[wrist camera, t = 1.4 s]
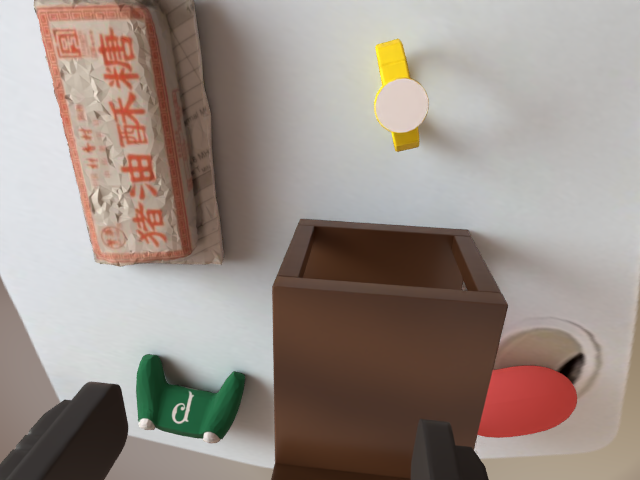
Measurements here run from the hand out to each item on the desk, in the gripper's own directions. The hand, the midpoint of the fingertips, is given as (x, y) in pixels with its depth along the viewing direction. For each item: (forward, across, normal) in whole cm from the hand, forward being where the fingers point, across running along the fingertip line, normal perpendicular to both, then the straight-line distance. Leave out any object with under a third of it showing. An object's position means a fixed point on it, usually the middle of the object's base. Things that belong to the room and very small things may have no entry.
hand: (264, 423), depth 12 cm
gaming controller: (+21, +11, +19) cm, 31 cm away
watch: (+21, -4, -6) cm, 23 cm away
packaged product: (+21, +13, -2) cm, 25 cm away
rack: (+21, -4, +10) cm, 23 cm away
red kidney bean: (+21, -15, +15) cm, 30 cm away
